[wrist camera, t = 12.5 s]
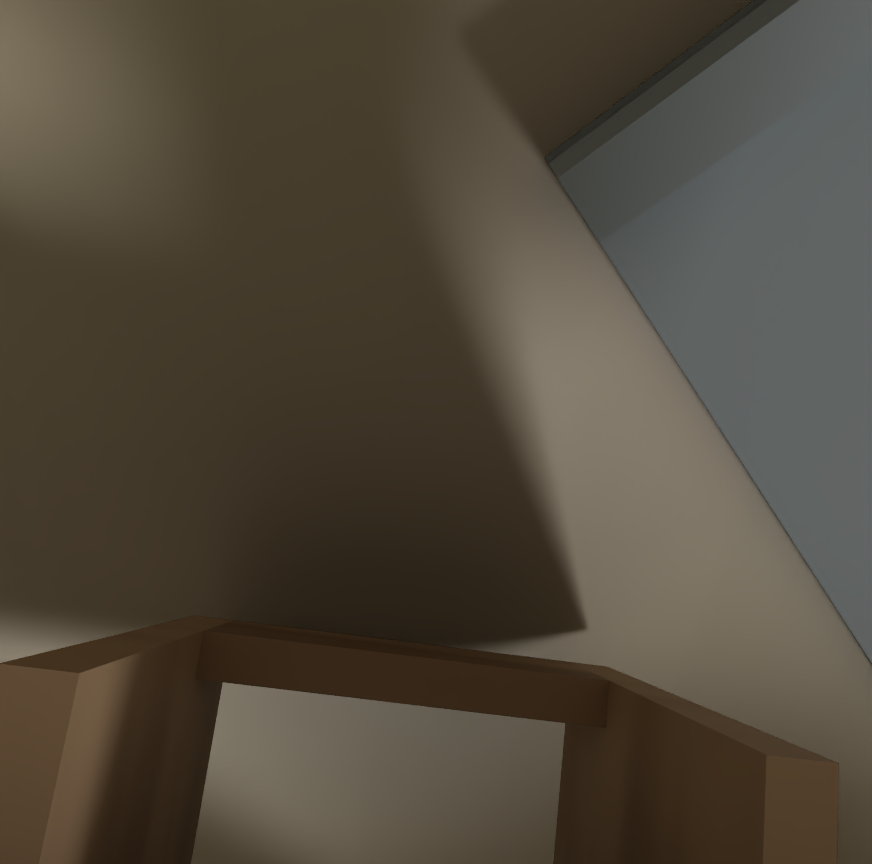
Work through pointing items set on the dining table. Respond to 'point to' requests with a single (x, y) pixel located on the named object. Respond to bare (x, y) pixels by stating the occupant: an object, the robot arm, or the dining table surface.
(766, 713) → the dining table surface
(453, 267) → the dining table surface
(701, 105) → the tray mat
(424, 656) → the box
